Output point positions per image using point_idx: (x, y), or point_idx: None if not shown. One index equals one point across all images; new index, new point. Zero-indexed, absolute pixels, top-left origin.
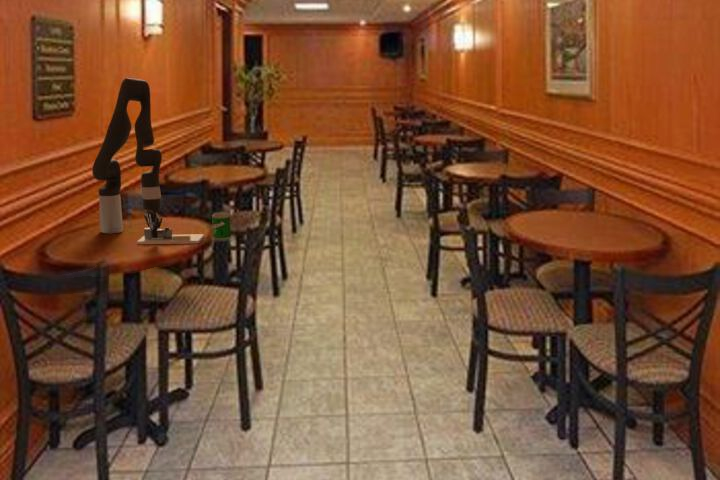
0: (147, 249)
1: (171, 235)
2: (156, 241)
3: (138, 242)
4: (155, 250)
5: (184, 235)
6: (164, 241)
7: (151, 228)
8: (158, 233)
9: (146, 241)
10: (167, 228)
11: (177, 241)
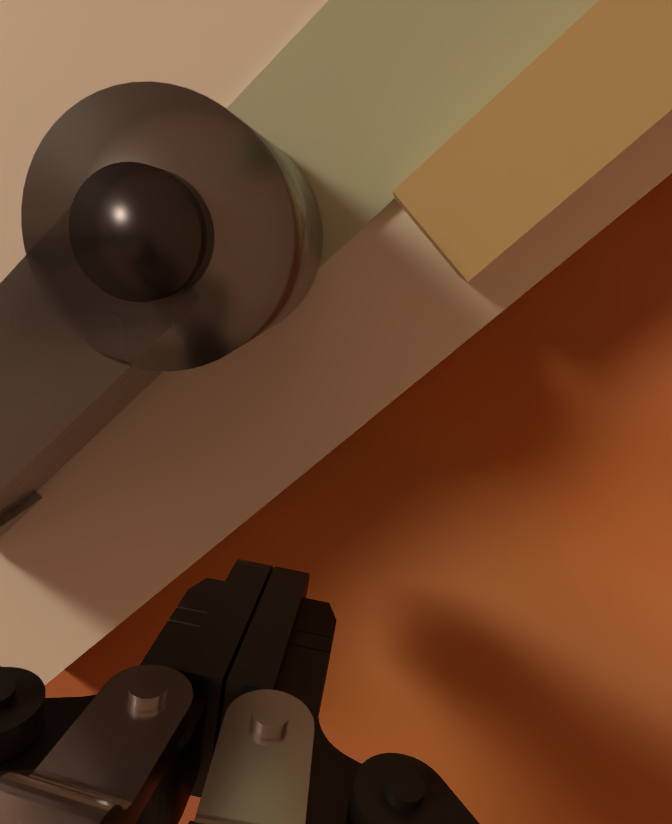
0: (474, 784)
1: (308, 200)
2: (256, 510)
3: (56, 673)
4: (636, 767)
5: (655, 3)
6: (366, 418)
7: (180, 809)
8: (93, 419)
9: (134, 611)
10: (192, 264)
11: (577, 245)
